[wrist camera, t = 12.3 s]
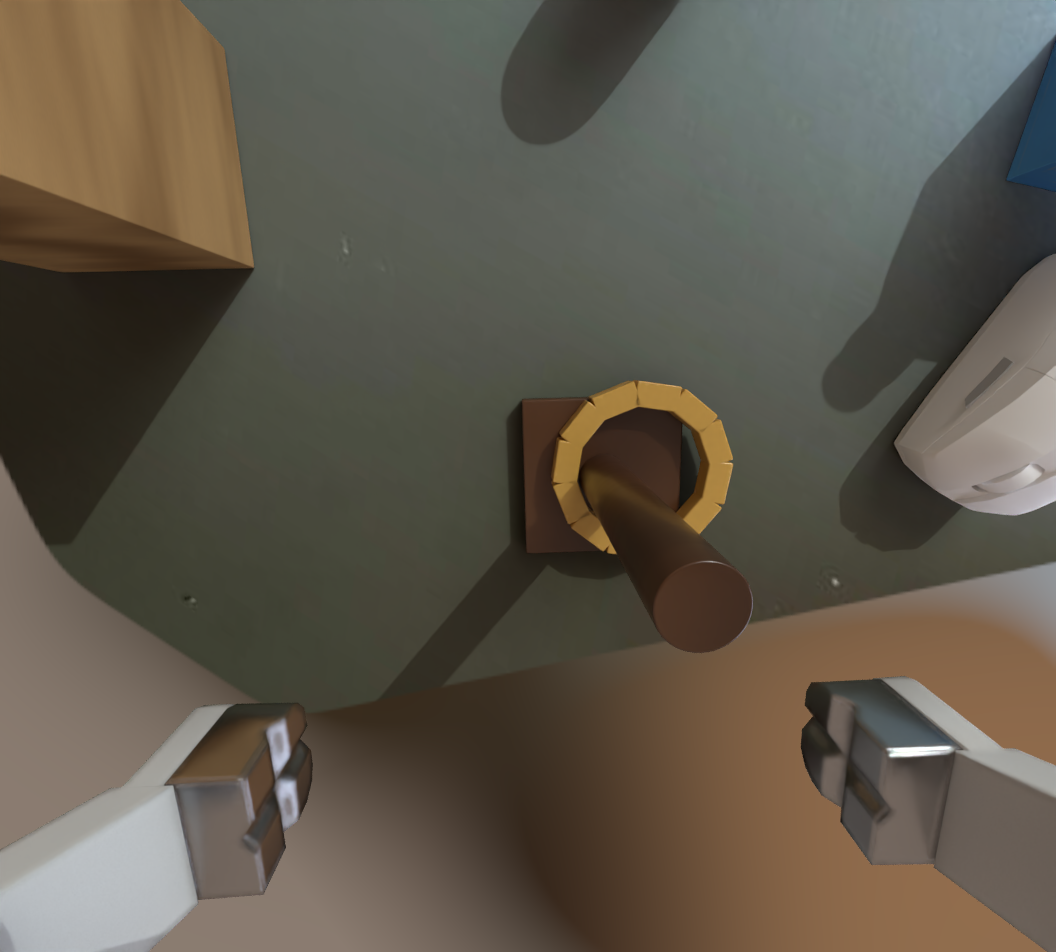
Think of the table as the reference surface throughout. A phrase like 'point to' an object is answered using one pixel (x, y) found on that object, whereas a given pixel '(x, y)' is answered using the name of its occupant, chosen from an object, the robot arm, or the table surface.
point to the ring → (621, 400)
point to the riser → (117, 139)
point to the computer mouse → (995, 409)
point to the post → (636, 519)
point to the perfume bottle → (1039, 137)
